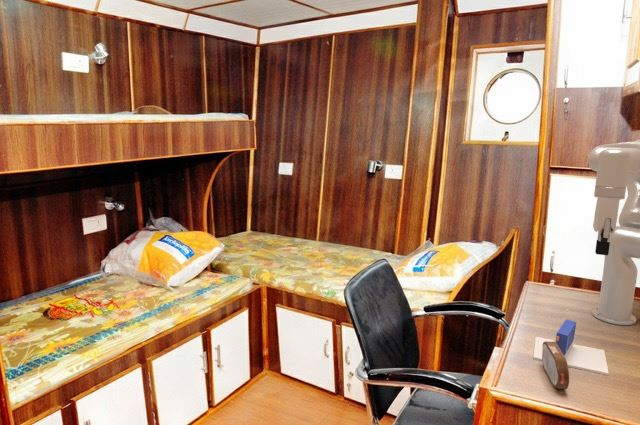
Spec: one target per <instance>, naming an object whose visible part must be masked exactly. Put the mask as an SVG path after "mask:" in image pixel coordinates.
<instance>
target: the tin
mask: <svg viewBox="0 0 640 425" xmlns="http://www.w3.org/2000/svg"><path fill="white" fill-rule="evenodd" d="M555 341H556V340H555ZM555 341H553V342H548V341H547V342H543V345H542V346H543V351H542V361H541V362H542V365H543V369H544V371H545V374H546V375H547V377H548V379H549V381H550V383H551V384H552V385H551V386H552V387H554V388H555V389H560V390H561V389H562V390H568V387H569V385H570V372H569V370H570V369H569V367H568V364H567V361H566V358H565V356H564V355H563V353H562V352H561V350H560V348H559V347H558V345H557V343H556V342H555Z"/></svg>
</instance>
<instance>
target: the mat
mask: <svg viewBox="0 0 640 425" xmlns="http://www.w3.org/2000/svg"><path fill="white" fill-rule="evenodd" d="M547 341H548V342H553V341H555V342H556V339H555V340H553V339H548V338H543V337H538V336H535V338H534V348H533V356H532V357H533V358H532V359H533V360H535V361H540V362H543V361H542V351H543V346H542V345H543V342H547ZM605 353H606V352H605V350H604V349H599V348H595V347H589V346H585V345H579V344H575V343H573V347H572V348H571V350H570V352H569V354H568V355H567V357H566V361H567V364H568V368H572V369H578V370H582V371H586V372H589V373H590V372H591V373H595V374H602V375H605V376H609V374H610V373H609V367H608V363H607V358H606V354H605Z"/></svg>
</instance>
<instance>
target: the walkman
mask: <svg viewBox="0 0 640 425" xmlns="http://www.w3.org/2000/svg"><path fill="white" fill-rule="evenodd" d="M576 329H577V321H574V320H570V319H565V320H564V322H563V323H562V325H561V326H560V327H559V329H558V331H556V337H555V341H556V343H557V345H558V347H559V348H560V350H561V352H562V353H563V355H564V356H565V358H566V357H567V355H568V354H569V352H570V350H571V348H572V347H573V344H574V339H575V334H576Z"/></svg>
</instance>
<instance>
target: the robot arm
mask: <svg viewBox="0 0 640 425" xmlns="http://www.w3.org/2000/svg"><path fill="white" fill-rule="evenodd" d="M587 163H588V167H589V168H590V170H592V171H594V172H596V178H595V185H594V193H593V197H595V198H597V200H596V205H595V210H594V216H593V223H592V227H593V230H594V232H595V233H597V239H596V244H595V250H594V252H595V255H600V256H604V261H603V271H602V277H601V278H602V279H601V285H600V292H599V293H600V294H599V298H598V300H599V301H598V306H597V307H594V308H593V309H592V312H591V313H592V315H593V316H594V318H596V319H598V320H600V321H602V322H605V323H609V324H611V325H612V324H613V325H618V326H632V325H635V324H636V322H637V318H636V316H635V315H633V314H632V312H633V307H634V306H633V305H634V299H635V290H636V284H637V278H638V267H637V265H636V263H635V262H634V260H633V258H634V259H638V260H639V259H640V139H637V140H634V141H625V142H619V143H617V142H616V143H607V144H601V145H598V146H595V147H594V148H593V149H591V151H590V153H589V155H588V158H587ZM626 191H627V192H626ZM626 193H627V198H626V199H625V197H626ZM620 200H625V202H624V204H623V207H622V209H621V212H620V214H619V207H620ZM618 214H619V216H618ZM617 221H618V222H617ZM617 223H618V224H619V225H617Z"/></svg>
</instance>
